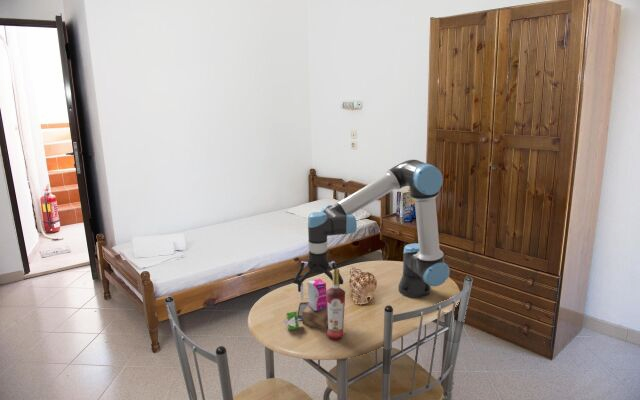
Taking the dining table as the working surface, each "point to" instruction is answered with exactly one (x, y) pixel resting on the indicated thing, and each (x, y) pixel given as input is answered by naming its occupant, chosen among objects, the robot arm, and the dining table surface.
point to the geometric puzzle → (292, 320)
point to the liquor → (335, 307)
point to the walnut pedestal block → (315, 317)
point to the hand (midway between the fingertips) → (318, 298)
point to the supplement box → (317, 295)
